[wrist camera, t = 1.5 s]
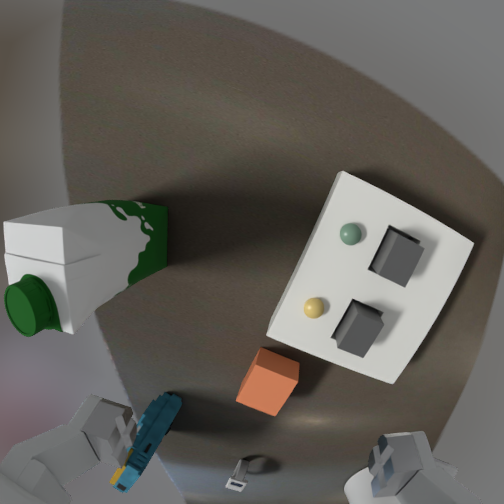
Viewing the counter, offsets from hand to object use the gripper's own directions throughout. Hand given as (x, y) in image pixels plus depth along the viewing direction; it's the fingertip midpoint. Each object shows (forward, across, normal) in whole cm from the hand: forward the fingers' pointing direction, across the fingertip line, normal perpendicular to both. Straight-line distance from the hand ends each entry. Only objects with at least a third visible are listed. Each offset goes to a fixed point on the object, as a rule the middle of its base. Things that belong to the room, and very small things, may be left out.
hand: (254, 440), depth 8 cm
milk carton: (+27, -16, -3) cm, 32 cm away
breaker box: (+25, +11, -5) cm, 27 cm away
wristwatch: (+22, -1, -39) cm, 44 cm away
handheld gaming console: (+24, -14, -30) cm, 40 cm away
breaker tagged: (+23, +9, -8) cm, 26 cm away
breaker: (+23, +12, -1) cm, 26 cm away
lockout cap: (+24, +1, -18) cm, 30 cm away
